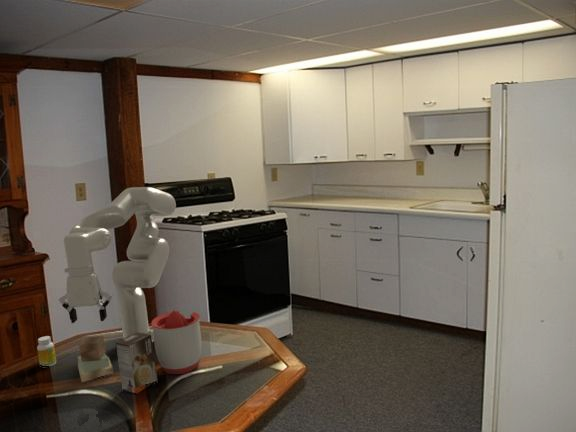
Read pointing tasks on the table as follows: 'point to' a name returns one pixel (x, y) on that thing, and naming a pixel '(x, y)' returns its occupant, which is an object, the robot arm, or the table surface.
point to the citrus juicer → (177, 342)
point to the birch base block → (95, 372)
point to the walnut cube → (92, 348)
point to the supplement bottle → (46, 351)
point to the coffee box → (136, 360)
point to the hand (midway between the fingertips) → (89, 320)
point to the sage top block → (93, 364)
